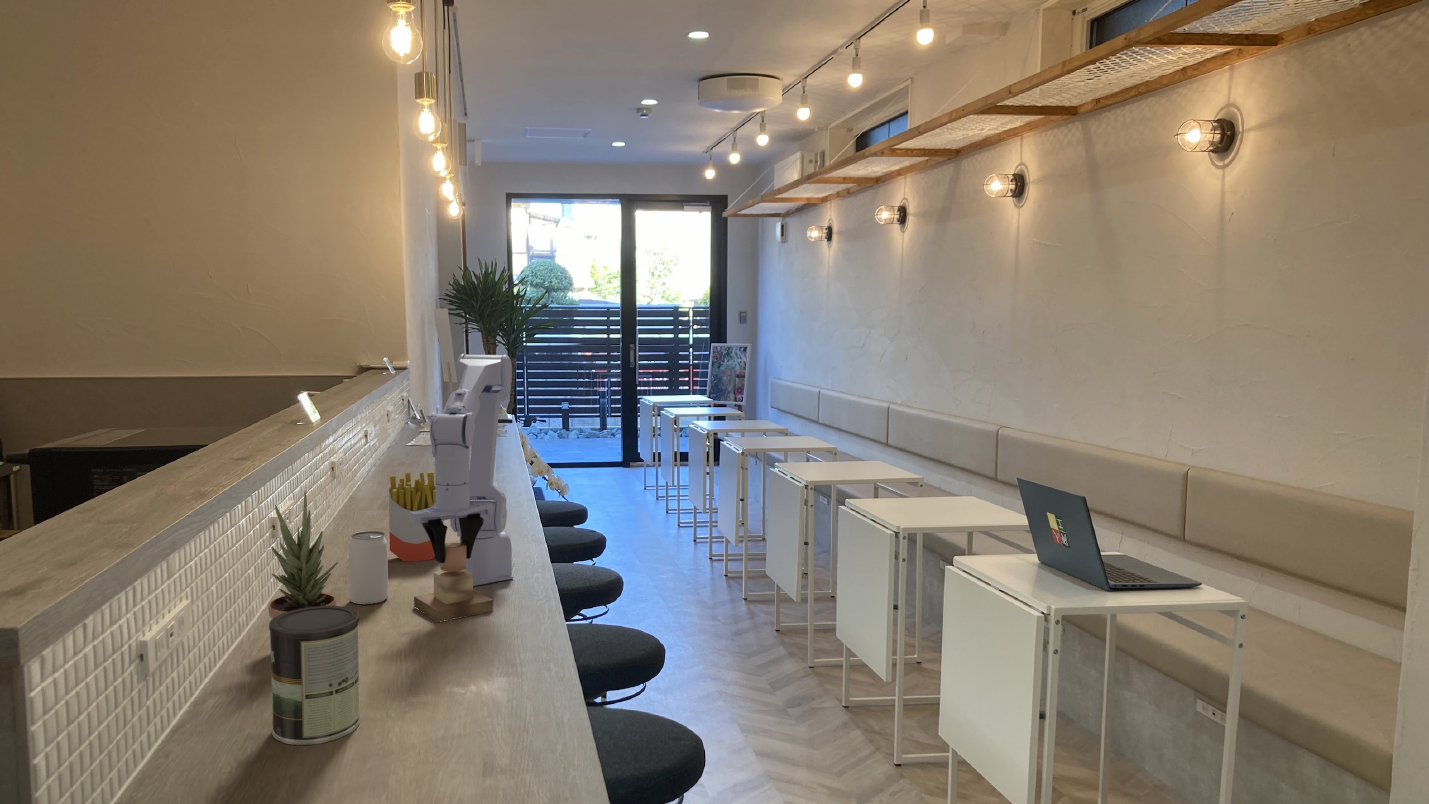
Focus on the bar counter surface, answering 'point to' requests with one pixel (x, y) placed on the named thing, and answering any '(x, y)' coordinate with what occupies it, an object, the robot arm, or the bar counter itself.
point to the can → (368, 567)
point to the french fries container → (402, 500)
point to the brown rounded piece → (455, 557)
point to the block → (453, 586)
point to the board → (453, 606)
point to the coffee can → (314, 674)
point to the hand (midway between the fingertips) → (453, 559)
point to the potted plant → (300, 570)
